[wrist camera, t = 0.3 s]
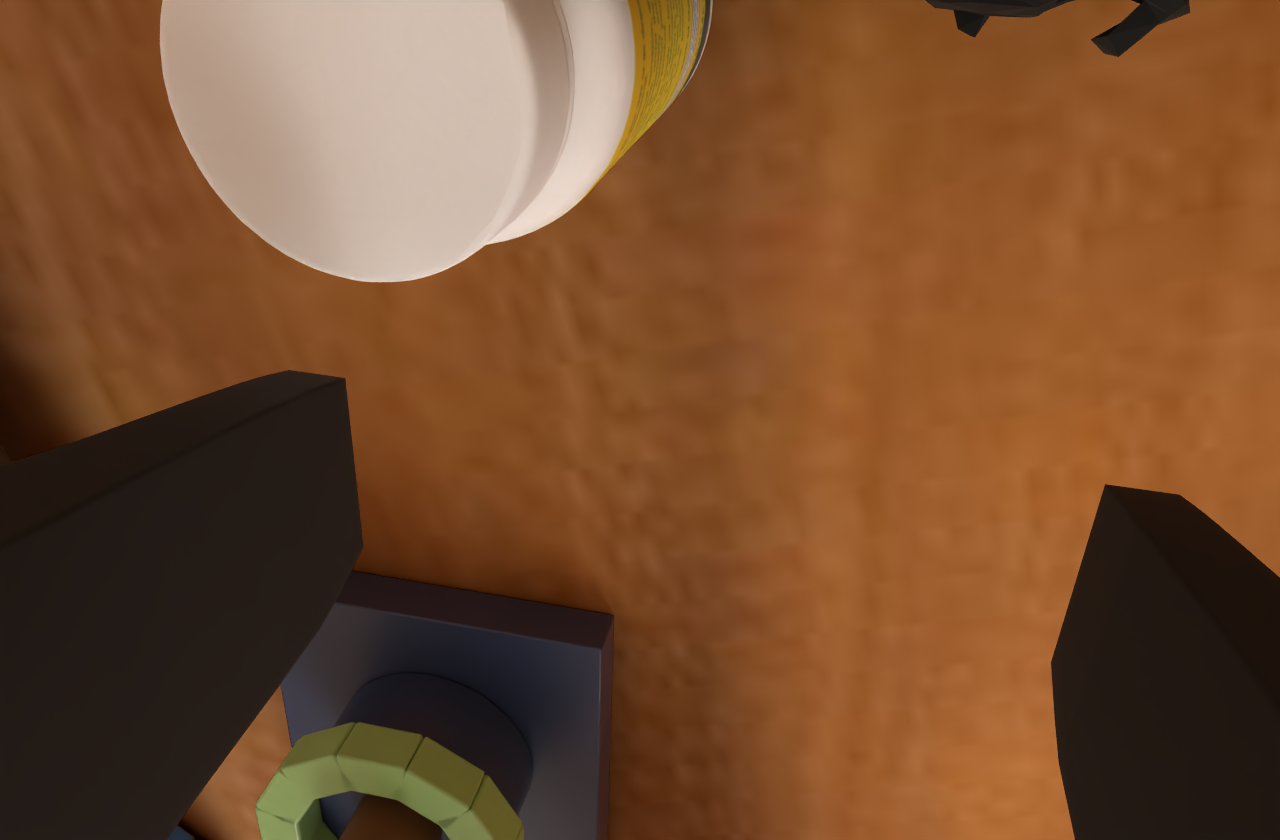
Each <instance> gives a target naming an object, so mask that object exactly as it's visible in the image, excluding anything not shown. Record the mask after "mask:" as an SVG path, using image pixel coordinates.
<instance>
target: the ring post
mask: <svg viewBox="0 0 1280 840" xmlns="http://www.w3.org/2000/svg"><path fill="white" fill-rule="evenodd" d="M613 639H614V616H613V615H608V614H602V613H596V612H590V611H584V610H578V609H572V608H566V607H561V606H555V605H549V604H543V603H537V602H531V601H525V600H519V599H513V598H507V597H501V596H495V595H490V594H484V593H478V592H472V591H466V590H460V589H454V588H448V587H442V586H436V585H430V584H425V583H419V582H413V581H407V580H401V579H395V578H389V577H383V576H377V575H371V574H365V573H359V572H354V571H351V572H350V574H349V576H348V578H347V580H346V582H345V584H344V586H343V588H342V590H341V592H340V594H339V596H338V597H337V599H336V601H335V603H334V605H333V606H332V608H331V610H330V612H329V614H328V615H327V617H326V619H325V621H324V623H323V625H322V626H321V628H320V629H319V631H318V632H317V634H316V635H315V636H314V638H313V639H312V641H311V642H310V644H309V645H308V646H307V648H306V649H305V651H304V652H303V653H302V655H301V656H300V657H299V659H298V660H297V662H296V663H295V664H294V666H293V667H292V669H291V670H290V671H289V673H288V674H287V675H286V677H285V678H284V680H283V681H282V682H281V690H282V695H283V701H284V707H285V712H286V718H287V724H288V729H289V735H290V740H291V746H292V748H293V746H294V745H295V743H296V742H297V740H299V739H300V738H302V737H303V736H304V735H307V734H311V733H314V732H318V731H322V730H325V729H329V728H333V727H336V726H340V725H343V724H347V723H351V722H354V723H355V724H356V723H358V722H361V723H366V724H372V725H377V726H382V727H387V728H392V729H397V730H402V731H407V732H413V733H418V734H421V735H422V736H423V738H425V737H429V738H430V739H432V740H434V741H435V742H437V743H439V744H440V745H442V746H443V747H445V748H447V749H448V750H450V751H452V752H453V753H455V754H456V755H458V756H460V757H461V758H463V759H465V760H466V761H468V762H469V763H471V764H473V765H474V766H476V767H478V768H479V769H481V770H482V771H484V775H488V776H489V777H490V778H491V779H492V781H493V782H494V784H495V785H496V786H497V788H498V789H499V790H500V792H501V793H502V795H503V796H504V797H505V799H506V800H507V802H508V803H509V804H510V806H511V807H512V809H513V810H514V811H515V813H516V814H517V816H518V817H519V818H520V820H521V821H522V825H523V826H524V840H608V808H609V774H610V741H611V707H612V673H613ZM319 801H320V807H321V813H322V819H323V821H324V823H325V824H326V825H327V826H328V828H329V829H330V830H331V831H332V832H333V834H334V835H335V836H336V837H337V839H338V840H450V839H449V837H448V836H447V835H446V833H445V832H444V831H443V829H442V828H441V827H440V826H439V825H438V824H436V823H434V822H433V821H431V820H429V819H428V818H426V817H424V816H423V815H421V814H419V813H418V812H416V811H415V810H413V809H411V808H410V807H408V806H406V805H405V804H403V803H401V802H400V801H398V800H394V799H390V798H385V797H380V796H375V795H370V794H365V793H361V792H356V791H348V792H344V793H339V794H335V795H331V796H327V797H323V798H319Z"/></svg>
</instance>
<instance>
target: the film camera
mask: <svg viewBox="0 0 1280 840" xmlns="http://www.w3.org/2000/svg"><path fill="white" fill-rule="evenodd" d="M926 1H927V2H928V3H929V4H931V5H932V6H933V7H935V8H941V9H951V10H954V13H955V18H956V23H957V27H958V29H959V30H961V31H963V32H964V33H966V34H968V35H970V36H972V37H975V36H976V35H977V34H978V32H979V31H980V29H981V28H982V26H983V25H984V23H985V22H986V21H987V19H988V18H989V16H1006V17H1035V16H1039V15H1040V14H1042V13H1043V12H1044V11H1047V10H1049V9H1052V8H1054V7H1057V6H1059V5H1062V4H1064V3H1066V2H1069V1H1074V0H926ZM1132 1H1135V2H1137V3H1140V5H1139V6H1138V7H1137V8H1136V9H1135V10H1134V11H1133V12H1132V13H1131V14H1130V15H1129V16H1128V17H1127V18H1126V19H1124V20H1123V21H1122V22H1121V23H1119V24H1118V25H1116V26H1114V27H1112V28H1110V29H1109V30H1107V31H1105V32H1103V33H1102V34H1100V35H1098V36H1096V37H1094V38H1093V39H1091V40H1092V41H1093V42H1094V43H1095V44H1096V45H1097V46H1098V48H1099V49H1100V50H1101V51H1102V52H1103V53H1104V54H1108V55H1113V56H1117V57H1119V56H1120V55H1121V54H1123V53H1124V52H1125V51H1126V50H1127V49H1129V48H1130V47H1131V46H1132V45H1134V44H1135V43H1136V42H1137V41H1138V40H1140V39H1141V38H1142V37H1143V36H1145V35H1146V34H1147V33H1148V32H1149V31H1151V30H1152V29H1153V28H1154V27H1156V26H1157V25H1159V24H1162V23H1164V22H1167V21H1169V20H1172V19H1175V18H1177V17H1180V16H1183V15H1185V14H1188V13H1190V7H1189V0H1132Z"/></svg>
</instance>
